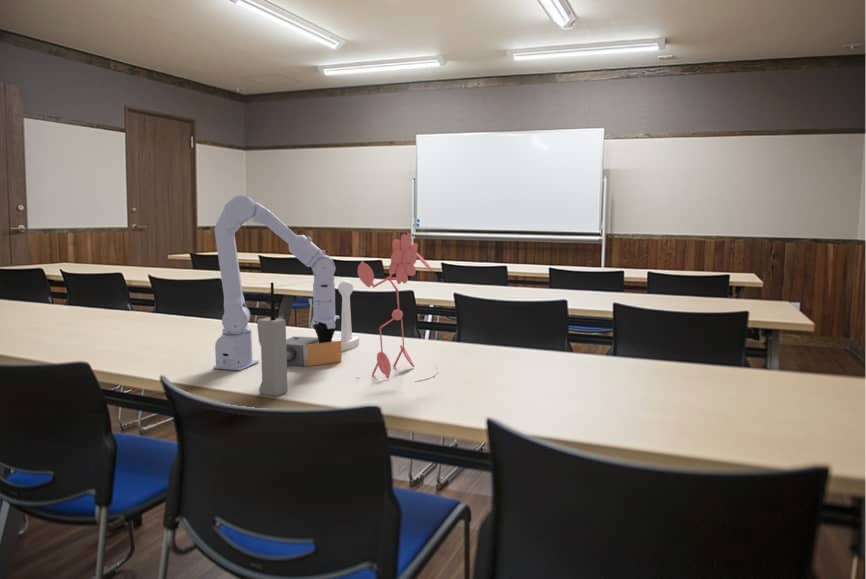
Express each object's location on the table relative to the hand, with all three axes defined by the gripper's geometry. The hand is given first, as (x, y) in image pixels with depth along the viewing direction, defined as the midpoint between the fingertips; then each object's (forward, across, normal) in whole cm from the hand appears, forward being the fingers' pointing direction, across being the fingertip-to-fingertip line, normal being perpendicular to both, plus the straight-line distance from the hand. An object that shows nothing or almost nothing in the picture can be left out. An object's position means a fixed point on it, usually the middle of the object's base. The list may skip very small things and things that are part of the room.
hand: (325, 350), depth 173 cm
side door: (+3, -3, +2) cm, 4 cm away
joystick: (+3, +15, -9) cm, 18 cm away
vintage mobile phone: (+3, -25, +18) cm, 31 cm away
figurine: (+3, -21, -15) cm, 26 cm away
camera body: (+3, +3, +6) cm, 8 cm away
